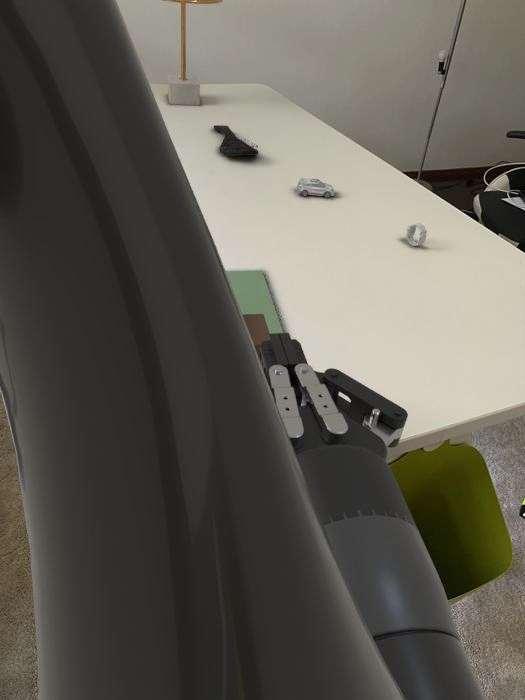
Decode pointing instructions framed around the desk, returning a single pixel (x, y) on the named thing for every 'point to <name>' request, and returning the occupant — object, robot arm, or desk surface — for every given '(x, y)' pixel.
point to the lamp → (184, 86)
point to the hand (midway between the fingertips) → (276, 342)
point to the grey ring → (411, 232)
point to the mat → (254, 296)
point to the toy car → (315, 188)
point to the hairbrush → (234, 143)
